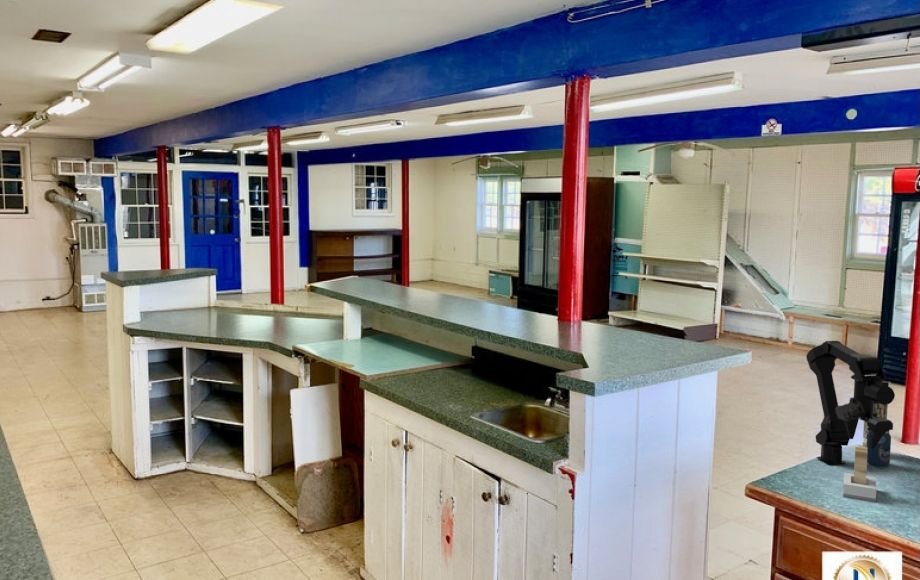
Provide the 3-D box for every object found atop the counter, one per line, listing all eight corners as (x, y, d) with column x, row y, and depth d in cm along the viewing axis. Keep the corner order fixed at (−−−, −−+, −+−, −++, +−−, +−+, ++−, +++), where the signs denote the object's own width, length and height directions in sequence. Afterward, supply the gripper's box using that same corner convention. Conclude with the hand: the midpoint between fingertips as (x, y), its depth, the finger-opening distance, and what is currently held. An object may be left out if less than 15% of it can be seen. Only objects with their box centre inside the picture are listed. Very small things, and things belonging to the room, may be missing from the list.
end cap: (843, 484, 220) (844, 472, 220) (874, 489, 216) (875, 477, 215) (843, 496, 211) (843, 483, 211) (875, 501, 207) (876, 489, 207)
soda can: (883, 470, 231) (885, 435, 230) (861, 464, 237) (863, 430, 235) (893, 465, 235) (895, 430, 234) (871, 459, 241) (873, 425, 239)
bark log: (862, 449, 250) (866, 381, 247) (884, 452, 247) (888, 383, 244) (862, 455, 245) (865, 386, 242) (884, 458, 241) (888, 388, 238)
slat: (853, 486, 216) (855, 446, 215) (865, 488, 215) (867, 447, 213) (853, 491, 212) (855, 450, 211) (865, 493, 211) (867, 452, 209)
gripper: (821, 390, 228) (819, 436, 230) (863, 405, 210) (860, 455, 212) (851, 387, 230) (849, 433, 232) (895, 403, 212) (892, 452, 214)
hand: (861, 443), depth 222 cm, fingers open, 9 cm apart
